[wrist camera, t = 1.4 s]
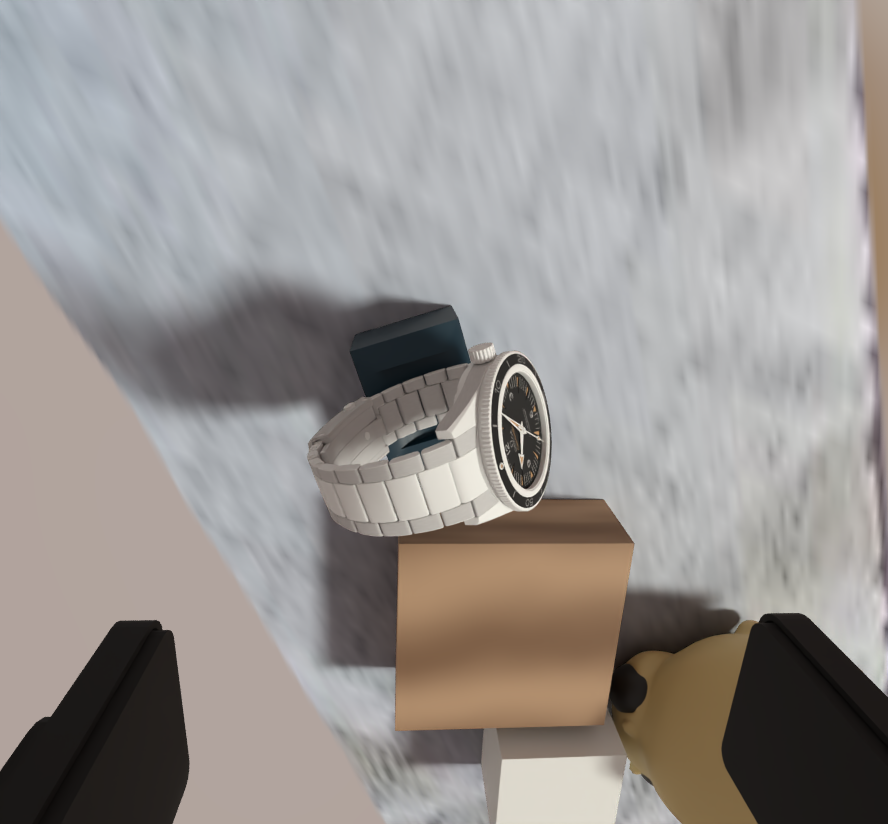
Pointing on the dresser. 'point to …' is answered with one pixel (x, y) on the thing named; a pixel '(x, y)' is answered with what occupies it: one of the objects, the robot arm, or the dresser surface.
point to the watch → (433, 432)
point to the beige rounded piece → (683, 725)
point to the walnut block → (511, 619)
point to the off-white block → (553, 774)
